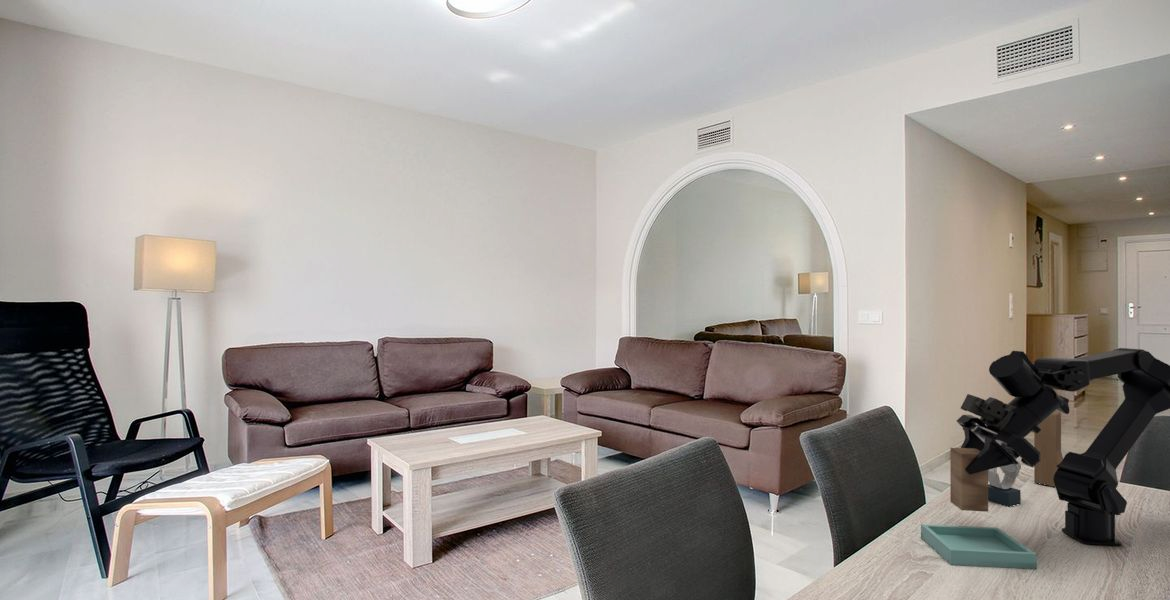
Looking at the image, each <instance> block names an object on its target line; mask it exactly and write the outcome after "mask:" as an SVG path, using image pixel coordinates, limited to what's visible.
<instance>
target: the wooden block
mask: <svg viewBox="0 0 1170 600" xmlns="http://www.w3.org/2000/svg"><path fill="white" fill-rule="evenodd" d="M1038 427H1039V428H1040V429H1041V431H1039V432H1038V433H1037V434H1036V433H1034V432H1033V433H1034V438H1033V441H1034V442H1033V446H1034V447H1035V448H1036V449H1037V450H1038V451H1039V452H1040V453H1041V461H1039V462H1038V463H1037V464H1036V465H1035V466H1034V467H1033V468H1034V471H1033V473H1034V474H1033V475H1034V477H1033V478H1034V480H1033V482H1034V484H1036V483H1040V484H1045V485H1049V486H1048V487H1050V486H1054V487H1053V488H1055V484H1054V480H1053V477H1054V474H1055V472H1056V470H1057V469H1058V467H1056V466H1057V465H1058V464H1060V463H1061V462H1062V460H1063V459H1064V457H1063V454H1062V412H1061V411H1058V410H1056V411H1054V412H1053V413H1052V414H1051V415H1050V416H1049V417H1048V418H1046V419H1045V420H1044V421H1043V422H1042V423H1041V424H1039V425H1038ZM1040 484H1039V485H1040ZM1045 485H1044V486H1045Z"/></svg>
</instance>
